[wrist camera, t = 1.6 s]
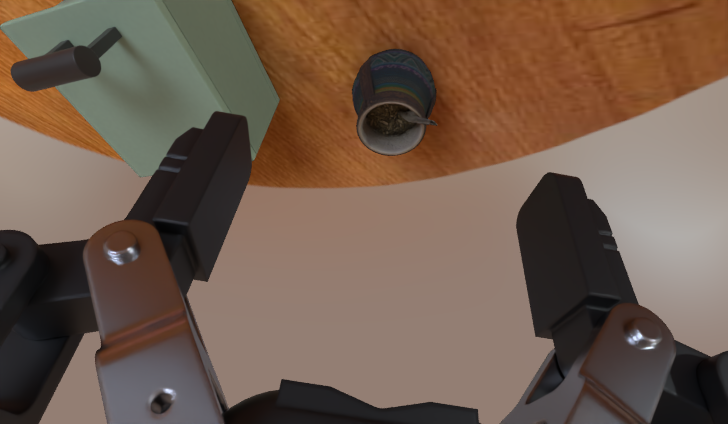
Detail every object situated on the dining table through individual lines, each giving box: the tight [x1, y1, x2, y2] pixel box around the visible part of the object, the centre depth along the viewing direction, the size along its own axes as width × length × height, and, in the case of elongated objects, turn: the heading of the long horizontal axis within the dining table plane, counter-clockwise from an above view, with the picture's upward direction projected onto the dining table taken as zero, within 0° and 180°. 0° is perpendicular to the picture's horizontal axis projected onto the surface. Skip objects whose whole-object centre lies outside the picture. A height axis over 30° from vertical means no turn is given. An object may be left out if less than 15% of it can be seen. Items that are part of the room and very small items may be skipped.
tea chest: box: [56, 0, 280, 154], centre depth 34 cm, size 14×12×8 cm
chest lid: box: [0, 0, 256, 177], centre depth 29 cm, size 14×12×6 cm
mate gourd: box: [352, 49, 437, 156], centre depth 33 cm, size 7×8×10 cm
